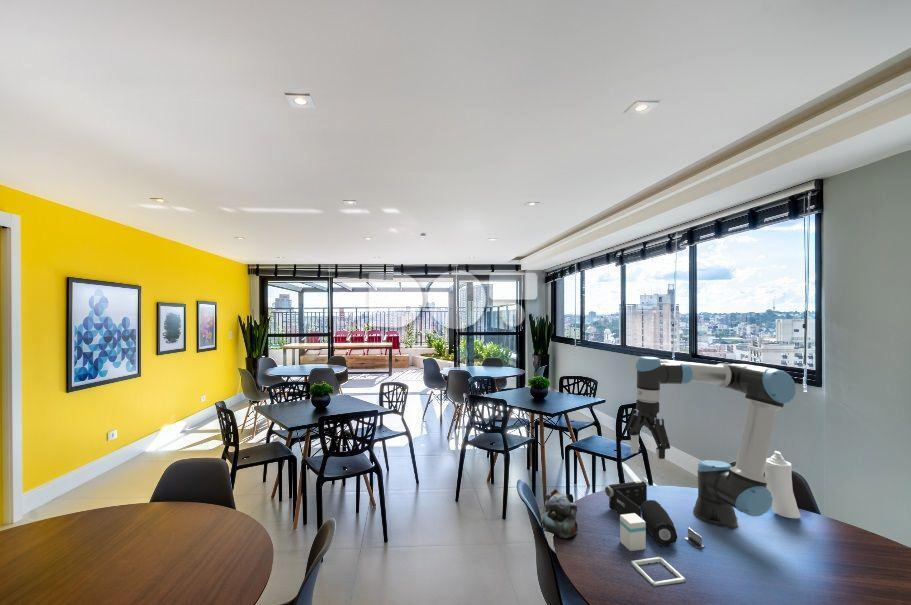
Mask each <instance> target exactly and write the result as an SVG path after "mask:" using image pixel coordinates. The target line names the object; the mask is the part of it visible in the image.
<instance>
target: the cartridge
mask: <svg viewBox="0 0 911 605" xmlns="http://www.w3.org/2000/svg"><path fill="white" fill-rule="evenodd" d="M646 529H647V527H646V522H645V521H644V520H643V518H642V517H641V518H640V517H639V516H638V515H637V514H635V513H631V514H623V515H619V534H620V535H619V542H620V543H621V544H622V545H623V546H624V547H626V549H627V550H628V551H629V552H632V551H641V550H646V549H647V548H646V547H647V546H646V545H647V544H646V539H647V538H646V536H647V535H646V532H647V531H646Z"/></svg>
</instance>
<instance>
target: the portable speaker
mask: <svg viewBox="0 0 911 605" xmlns="http://www.w3.org/2000/svg"><path fill="white" fill-rule="evenodd" d="M640 511H641V519H643V520H644V521H645V522H646V529H647V531H648V532H649V533H650V535H651V536H652V538H653V539H654V540H655V542H656V543H657V544H659V545H660V546H662V547H665V546H669V545H672V544H676V543H677V539H678V534H677V529H676V528H675V524H674V522H673V521H672V519H671V516H670V515H669V514H668V512H667V511H666V510H665V508H663V506H662V505H661V504H660V503H659V502H658V501H657V500H654V499H653V500H652V499H647V501H644V502H643V503H642V505H641V507H640Z"/></svg>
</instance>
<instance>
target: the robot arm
mask: <svg viewBox="0 0 911 605" xmlns="http://www.w3.org/2000/svg"><path fill="white" fill-rule="evenodd" d="M635 369H636V402H635V404H636V405H635V408H633V409H632V411H631V412H632V413H631V417H630V419H629V422H628V424H627V427H626V431H627V432H629V436H630V454H639V441H640V440H639V438H640V436H639V432H640V431H641V430H642V428H644V427H646V428H647V430H648V431H650V432H651V435H652V437H653V439H654V442H655V445H656V446H657V447H656V448H655V468H656V469H662V468H665V458H666V450H670V449H671V445H670V440H669V438H668V434H667V431H666V428H665V419H664V418H658V416H657V415H658V414H659V413H660V402H659V401H661V400H660V399H661V394H660V393H661V384H663V385H664V384H665V385H666V384H667V385H673V384H674V385H682V384H683V385H684V384H689V383H691V382H695V383H703V384H704V383H705V384H711V385H712V384H713V385H716V386H717V387H720V388H726V389H729V390H734V391H737V392H740V393H742V394H745V396H744V399H745V401H746V402H747V404H748V407H747V410H746V414H745V419H744V425H743V429H742V434H741V438H740V443H739V446H738V452H737V457H736V461H735V462H736V463H735V465H734V466H732V464H730V463H728V462H726V461H721V460H713V459H709V460H708V459H707V460H700V461H699V462H698V465H697V466H698V467H697V470H696V471H697V498H696V501H695V504H694V506H693V509H692V513H693V515H694V516H695V517H696V518H697V519H698V520H700V521H702V522H704V523H707V524H709V525H712V526H716V527H723V528H727V529H728V530H732V529H736V528H737V527H738V517H737V515H736V511H735V509H736V510H737V511H739V513H743V514H744V515H746V516H747V515H748V516H750V517H752V518H753V517H755V518H756V517H760V516H763V515H764V514H766V513H767V512H768V511H770V509H771V508H772V507H771V505H772V501H773V498H772V495H771V492H770V491H769V490H768V489H767V480H766V479H765V472H764V470H765V465H766V460H767V458H768V456H769V455H768V454H769V450H770V445H771V441H772V436H773V431H774V427H775V421H776V418H777V412H778V411H780V410H783V409H784V407H785V406H784V405H785V404H787V403H790V402H792V400H793V399H794V398H795V395H796V389H797V388H796V384H795V383H796V382H795V381H794V379H793V378H792V376H791V375H790V374H789V373H787V371H784V370H780V369H777V368H773V367H767V366H761V365H754V364H747V363H722V362H720V363H716V364H708V363H701V362H692V361H691V362H690V361H681V360H672V359H671V360H670V359H662V358H660V357H655V356H639V357H638V358H637V361H636V364H635Z"/></svg>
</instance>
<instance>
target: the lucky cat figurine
mask: <svg viewBox="0 0 911 605" xmlns="http://www.w3.org/2000/svg"><path fill="white" fill-rule="evenodd" d="M545 498H546V500H545V502H544V508H545V511H544V512H545V513H543V515H541V518H540V522H541V524H542V528H543V531H544V532H547V533H549V534H550V533H551V534H552V535H555V536H556V537H559V538H561V539H568V538H571V537H573V536H575V535H576V534H577V533H578V532H579V529H578V527H579V526H578V522H577V519H576V518H577V512H578V505H577V503H575V502H574V500H575V499H574V496H573V494H572V493H570V494H565V493H560V492H559V490H558V489H557V488H554V490H552V492H548V493H545Z"/></svg>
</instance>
